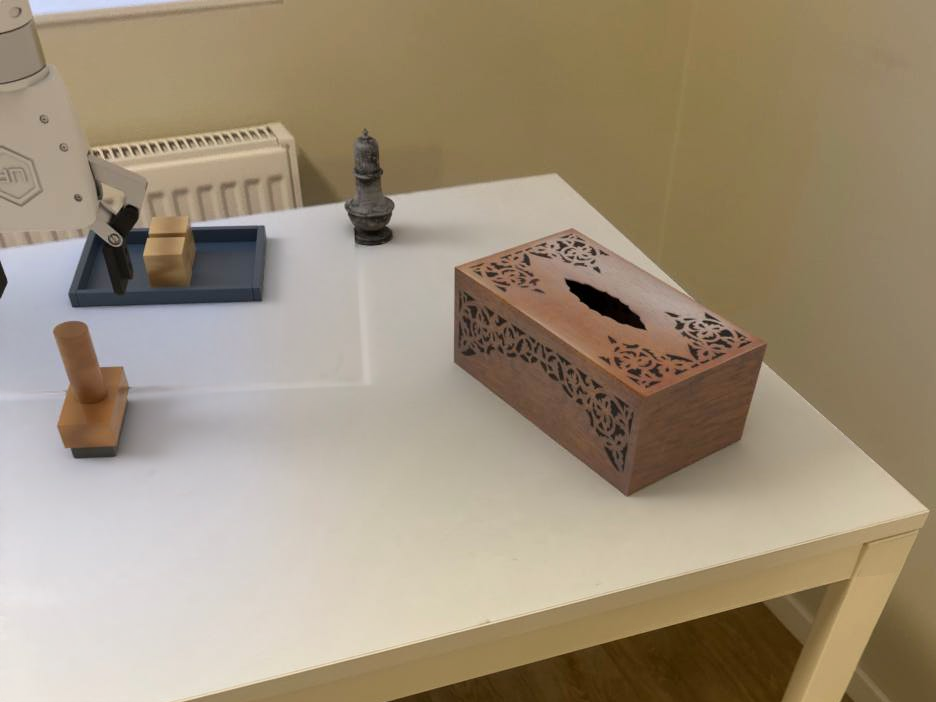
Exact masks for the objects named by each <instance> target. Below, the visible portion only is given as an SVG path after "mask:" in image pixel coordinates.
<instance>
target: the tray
mask: <svg viewBox="0 0 936 702" xmlns="http://www.w3.org/2000/svg"><path fill="white" fill-rule="evenodd" d="M191 227H192V232H193V238H194V243H195V248H196V253H195V259H194V265H193V267H191V268H192V276H191V282H190V287H156V288H151V287H150V283H149V279H148V275H147V271H146V266H145V262H144V258H143V253H144V249H145V245H146V241H147V238H149V230H150V227H133V228H132V229H131V230H130V232H129V233H128V234H127V236H126V237H125V240H126V244H127V247H128V251H129V255H130V259H131V263H132V266H133V279H132V280H128V284H127V288H126V291H125V295H117V294H115V293H114V290H113V287H112V283H111V280H110V276H109V273H108V269H107V266H106V262H105V259H104V255H103V250H102V248H103V245H104V242H105V241H104V239H102V238H101V237H100V236H99V235H97V234H96V233H95V232H94V231H93V230H91V229H90V228H89V231H88V235H87V237H86V240H85V242H84V245H83V249H82V251H81V254H80V258H79V261H78V262H77V263H78V264H77V266H76V269H75V273H74V275H73V278H72V281H71V284H70V287H69V290H68V293H67V295H68V298H69V302H70V304H71V307H72V308H92V307H93V308H95V307H97V308H98V307H99V308H101V307H127V306H128V307H129V306H158V305H159V306H161V305H162V306H163V305H188V304H189V305H190V304H192V305H193V304H223V303H224V304H225V303H253V302H255V303H256V302H258V303H259V302H263V290H264V278H265V277H264V275H265V263H266V251H267V250H266V249H267V231H266V226H265V225H264V224H263V225H261V224H260V225H258V224H255V225H253V224H252V225H250V224H249V225H215V226H213V225H212V226H211V225H210V226H191Z"/></svg>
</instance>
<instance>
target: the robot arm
mask: <svg viewBox="0 0 936 702" xmlns="http://www.w3.org/2000/svg"><path fill="white" fill-rule="evenodd" d="M34 18H35V17H34V16H33V11H32V8H31V4H30V0H0V234H7V233H8V234H9V233H34V232H35V233H37V232H58V231H59V232H61V231H62V232H63V231H74V230H75V231H76V230H83V229H86V228H89V230H90V229H91V230H93V231H94V232H95V233H96V234H97V235H99V236H100V237H101V238H102V239H104V241H105V242H104V245H103V248H102V250H103V255H104V259H105V262H106V266H107V269H108V273H109V276H110V280H111V283H112V287H113V290H114V293H115V294H117V295H125V291H126V288H127V284H128V280H132V279H133V266H132V263H131V259H130V255H129V251H128V247H127V244H126V240H125V237H126V236H127V234H128V233H129V232H130V230H131V229H132V228H134V226H135V225H136V224H137V222H138V221H139V219H140V214H141V211H142V207H143V204H144V200H145V197H146V193H147V189H148V185H149V182H148V180H147V179H146V177H144V176H143V175H141V174H138V173H137V172H134V171H132V170H129V169H127V168H125V167H123V166H120V165H118V164H116V163H113V162H111V161H108V160H106V159H104V158H102V157H99V156H97V155H95V154H93V150H92V148H91V145H90V142H89V139H88V136H87V134H86V131H85V129H84V126H83V123H82V121H81V118H80V116H79V113H78V111H77V108H76V106H75V104H74V100H73V99H72V97H71V94H70V92H69V90H68V88H67V86H66V83H65V82H64V79H63V78H62V76H61V74H60V72H59V69H58V68H57V67H56V66H55V65H54V64H48V63H47V60H46V56H45V53H44V50H43V46H42V43H41V39H40V36H39V35H40V34H39V32H38V28H37V25H36V21H35V19H34ZM103 184H104V185H106V186H109V187H111V188H112V189H113V188H114V189H116V190H118V191H120V192H122V193H123V194H124V197H125V200H124V204H123V205H122V206H121V207H120V209H119V210H118V212H117V211H116V210H115V209H113V208H112V207H111V206H110V205H109V204H108V203H106V202H105V201H104V200H103V198H104V189H103ZM8 282H9V281H8V277H7V274H6V272H5V269H4V267H3V264H2V261H1V260H0V299H2V297H3V295H4V293H5V291H6V288H7V287H8Z"/></svg>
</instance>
